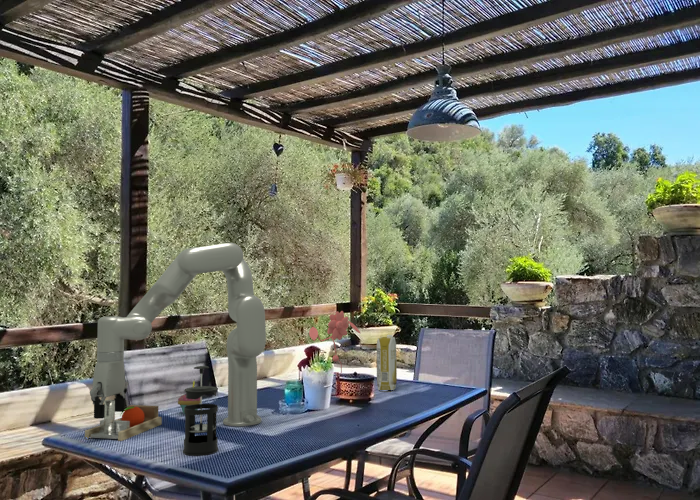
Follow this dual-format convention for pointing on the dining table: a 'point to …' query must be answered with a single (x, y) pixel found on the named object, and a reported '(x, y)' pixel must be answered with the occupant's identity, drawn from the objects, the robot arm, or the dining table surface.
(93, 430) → the wooden tray
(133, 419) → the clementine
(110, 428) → the press jaw
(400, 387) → the dining table surface
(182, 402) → the cupcake
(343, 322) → the pink artificial flower
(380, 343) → the juice carton
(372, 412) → the dining table surface
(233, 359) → the robot arm
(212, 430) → the french press
